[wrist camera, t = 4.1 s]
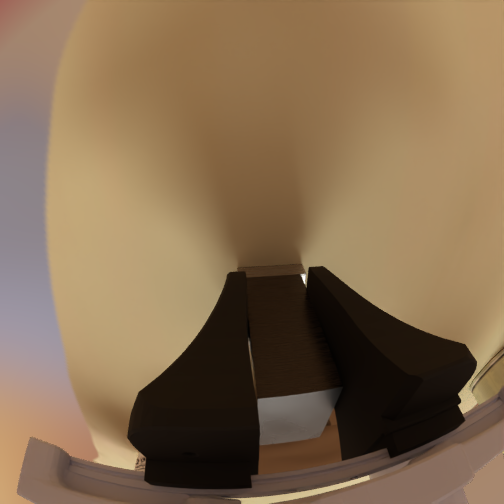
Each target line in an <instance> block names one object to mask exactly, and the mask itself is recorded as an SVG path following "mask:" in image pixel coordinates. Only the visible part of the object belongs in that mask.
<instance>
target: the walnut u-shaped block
mask: <svg viewBox="0 0 504 504" xmlns="http://www.w3.org/2000/svg"><path fill="white" fill-rule="evenodd" d="M340 461H342V458H341V449H340V440H339V433H338V427H337V421H336V415H335V410H334V409H333V411H332V413H331V415H330V417H329V419H328V421H327V424H326V426H325V428H324V430H323V432H322V434H321V436H320V437H317V438H312V439H306V440H300V441H293V442H286V443H278V444H269V445H260V447H259V466H258V475H261V474H271V473H280V472H287V471H294V470H301V469H307V468H312V467H317V466H322V465H327V464H331V463H336V462H340Z"/></svg>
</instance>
